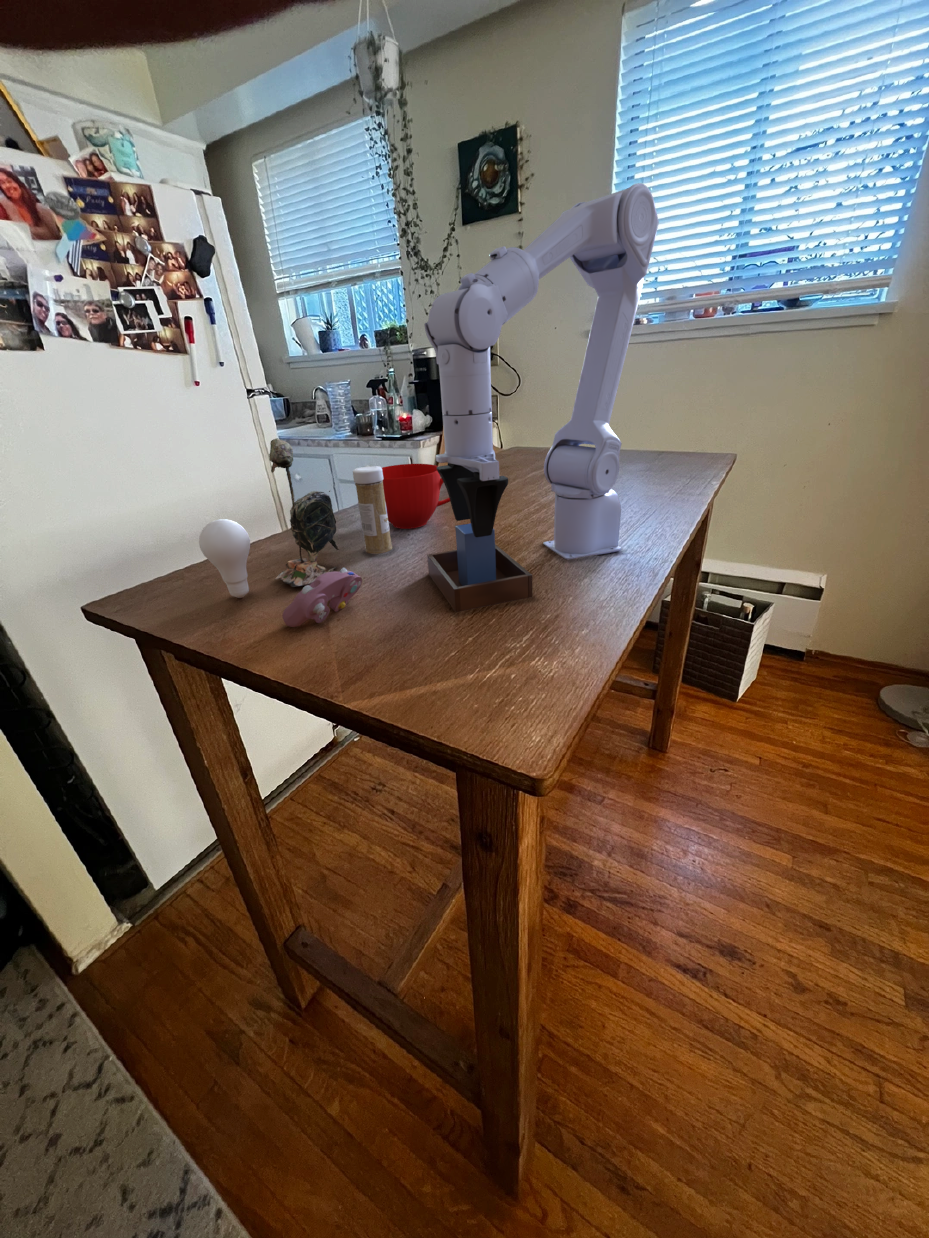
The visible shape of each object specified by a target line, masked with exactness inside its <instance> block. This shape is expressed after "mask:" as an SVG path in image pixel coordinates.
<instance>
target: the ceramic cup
mask: <svg viewBox="0 0 929 1238" xmlns="http://www.w3.org/2000/svg"><path fill="white" fill-rule="evenodd" d="M437 467H439V466H438V465H436V464H430V463H401V464H393V465H388V466H382V467H381V468H382V472H383V489H384V496H385V502H386V508H387V515H388V522H389V524H391V525H392V526H393V527H394V528H395V529H396V528H397V529H401V530H409V529H410V530H411V529H417V528H420V527H424V526H426V525H427V524H428V522H429V520H431V518H432V516H433V514H434V513H435V511H436V509H437V508H438V507H441V506H443V505H446V504H447V503H451V502H450V498H449V497H447V498H445V499H442V500H440V493H441V490H442V486H443V485H444V482H443V480H442V478H441V476H440V474H439V473H438V471H437Z"/></svg>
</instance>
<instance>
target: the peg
mask: <svg viewBox="0 0 929 1238" xmlns="http://www.w3.org/2000/svg"><path fill="white" fill-rule="evenodd" d="M454 526H455V527H454V528H455V529H454V530H455V541H456V550H457V558H458V573H459V582H460V583H461V585H462V586H466V585H471V584H477V583H482V582H487V581H493V580H496V561H495V544H496V534H495V533H496V532H495V531H496V530H495V528H493V531H492V535H489V536H483V537H475V536H474V534H473V531H472V527H471V522H470V523H464V524H457V525H454Z"/></svg>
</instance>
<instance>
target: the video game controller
mask: <svg viewBox="0 0 929 1238" xmlns="http://www.w3.org/2000/svg"><path fill="white" fill-rule="evenodd" d="M326 572H327V573H324V574H321V575H320V576H318V577H317V578H316V579H315V580H314V581H313V582H312V583H310V584H306V585H304V587H302V589H301V590H300V591H299V592H298V593H297V594H296V596H295V597H294V599H293V600H292V602H290V603H289V604H288V605H287V606H286V607H285V608H284V610H283V611H282V620H283V622H284V624H285V625H286V626H287V627H290V628H297V627H300V626H301V625H303V624H304V623H305V622H307V621H309V620H313V621H314V622H316V623H317V624H320V623H323V621H325V620H326V619H327V618H328V616H329V614H330V610H331V609H332V610H333V611H334V612H339V611H340V610H342V609H345V607H347V605H348V604H349V601H350V600H351V599H352V598H353V597H354V596H355V595H356V594H357V592H359V590H360V588H362V587H361V586H362V583H363V578H362V577H361V576H360V575H358V574H357V573H355V572H354V571H351V570H348V569H347V568H346V567H342V568H341V569H340V570H339V571H335V570H333V571H332V572H328V571H326ZM328 602H329V603H328Z"/></svg>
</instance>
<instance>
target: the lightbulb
mask: <svg viewBox="0 0 929 1238" xmlns="http://www.w3.org/2000/svg"><path fill="white" fill-rule="evenodd" d="M198 545H199V549H200V552H201V554H203V556H204V557H205V558H206V560H208V561H209V562H210V563H211V564H212V565H213V566H214V567H215V568H216V570H217V571H218V572H219V574H220V577H221V579H222V581H223V582H224V583H225V585H226V587H227V590H228V593H229V596H231V597H235V598H237V599H242V598H245V597H246V595H248V593H249V592H250V587H249V583H248V576H249V575H248V571H247V562H248V558H249V553H250V550H251V539H250V534H249V533H248V531H247V530H246V529H245V527H243V526H242V525H241V524H240V523H239V522H236V521H234V520H232V519H227V518H220V519H218V518H217V519H215V520H212V521H210V522H209V523H207V524H206V525H205V526H204V527H202V529H201V531H200V533H199V537H198Z"/></svg>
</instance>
